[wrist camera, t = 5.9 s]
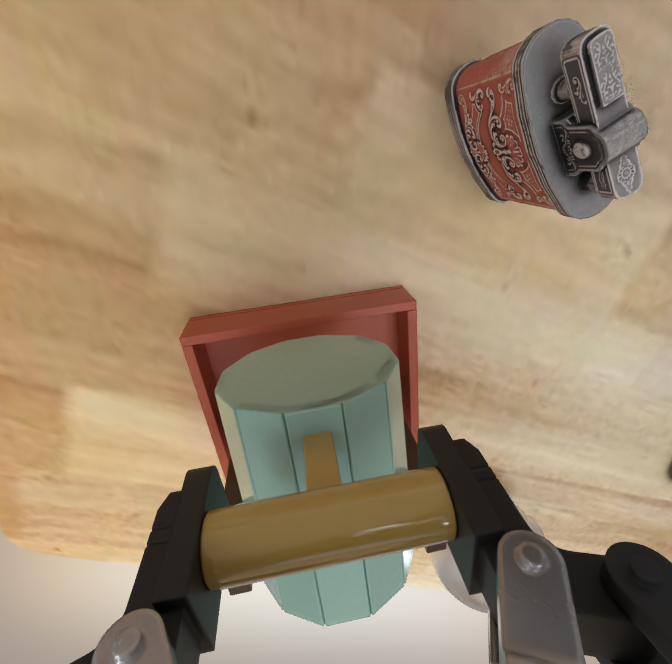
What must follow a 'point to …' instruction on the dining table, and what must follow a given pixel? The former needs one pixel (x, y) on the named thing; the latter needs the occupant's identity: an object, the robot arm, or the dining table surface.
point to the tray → (299, 322)
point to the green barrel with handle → (321, 480)
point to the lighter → (549, 121)
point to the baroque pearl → (453, 578)
